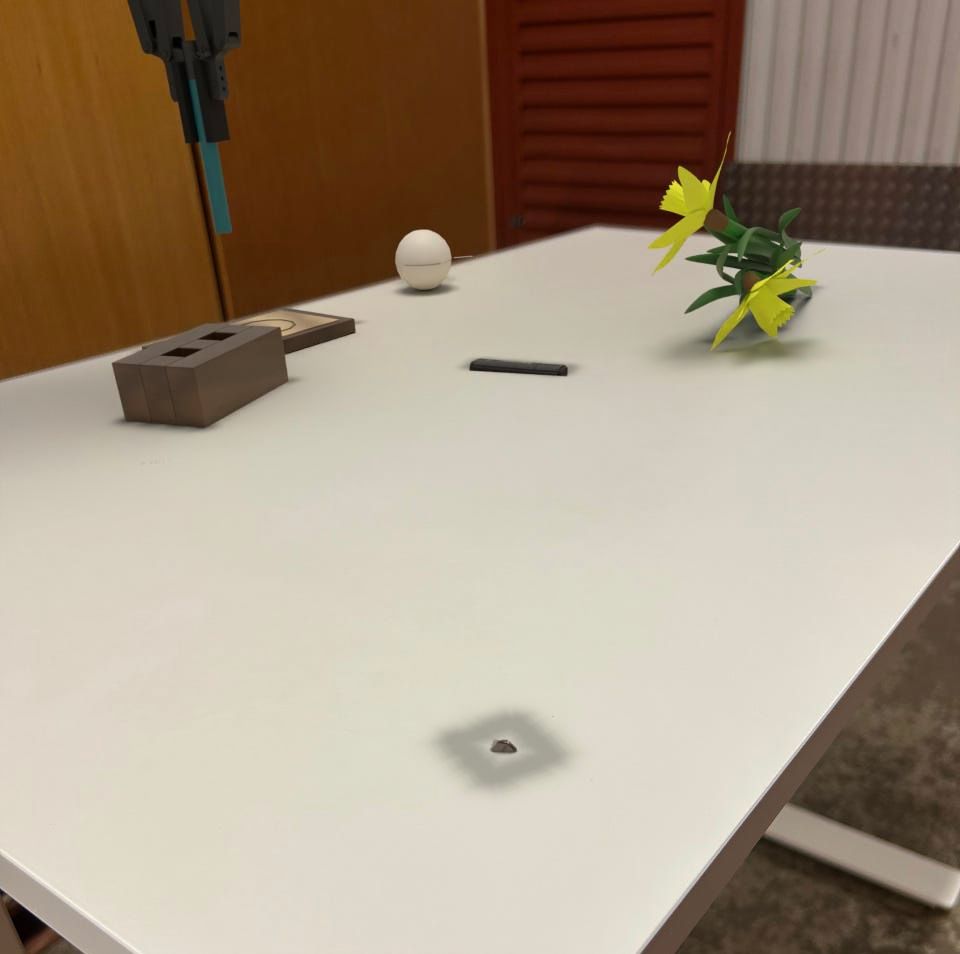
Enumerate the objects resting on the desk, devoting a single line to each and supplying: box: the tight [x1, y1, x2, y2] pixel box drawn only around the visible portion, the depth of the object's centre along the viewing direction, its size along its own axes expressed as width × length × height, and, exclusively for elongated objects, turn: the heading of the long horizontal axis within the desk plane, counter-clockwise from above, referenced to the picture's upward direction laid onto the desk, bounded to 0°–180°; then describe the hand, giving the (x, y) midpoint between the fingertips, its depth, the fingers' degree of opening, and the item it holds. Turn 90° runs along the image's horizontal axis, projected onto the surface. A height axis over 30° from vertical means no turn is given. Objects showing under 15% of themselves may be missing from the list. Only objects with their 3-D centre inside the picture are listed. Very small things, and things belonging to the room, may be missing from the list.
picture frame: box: [141, 307, 357, 355], centre depth 109 cm, size 20×12×2 cm, turn 141°
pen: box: [181, 39, 233, 235], centre depth 92 cm, size 2×2×16 cm
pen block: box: [111, 322, 290, 429], centre depth 88 cm, size 8×14×6 cm, turn 159°
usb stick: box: [469, 357, 569, 377], centre depth 93 cm, size 10×3×2 cm, turn 65°
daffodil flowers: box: [646, 130, 826, 352], centre depth 102 cm, size 17×15×35 cm
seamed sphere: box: [394, 229, 474, 291], centre depth 128 cm, size 10×7×7 cm
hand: (208, 141), depth 92 cm, fingers closed on pen, 2 cm apart
